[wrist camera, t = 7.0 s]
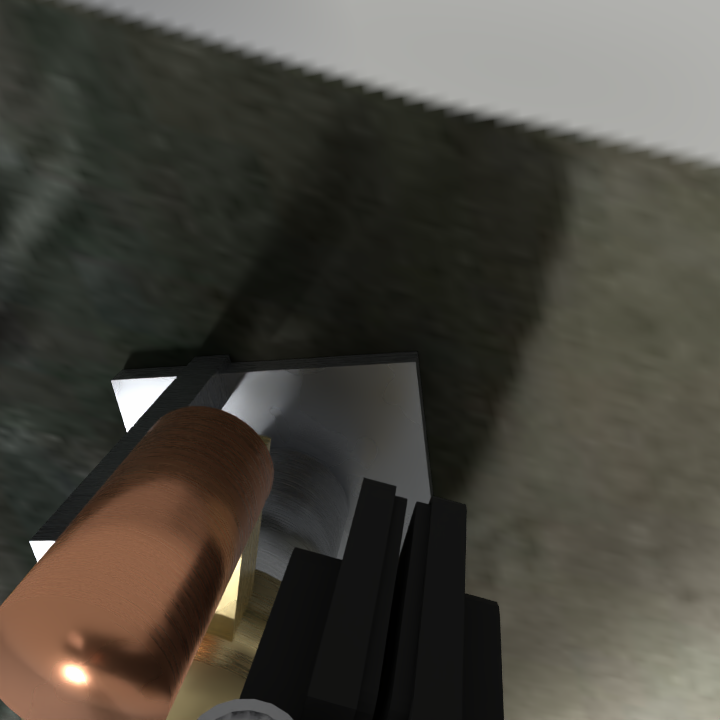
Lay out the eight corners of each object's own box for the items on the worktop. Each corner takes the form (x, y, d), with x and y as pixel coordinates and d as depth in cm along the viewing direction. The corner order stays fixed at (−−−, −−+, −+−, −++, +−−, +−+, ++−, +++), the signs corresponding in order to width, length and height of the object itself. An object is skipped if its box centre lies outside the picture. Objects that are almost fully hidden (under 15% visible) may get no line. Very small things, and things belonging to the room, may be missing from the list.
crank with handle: (333, 785, 19) (266, 1132, 13) (87, 723, 19) (-87, 1028, 13) (421, 397, 13) (379, 681, 7) (79, 323, 14) (-219, 533, 8)
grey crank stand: (445, 600, 25) (430, 876, 17) (190, 598, 27) (63, 845, 19) (416, 342, 21) (378, 537, 13) (119, 361, 23) (-83, 542, 15)
